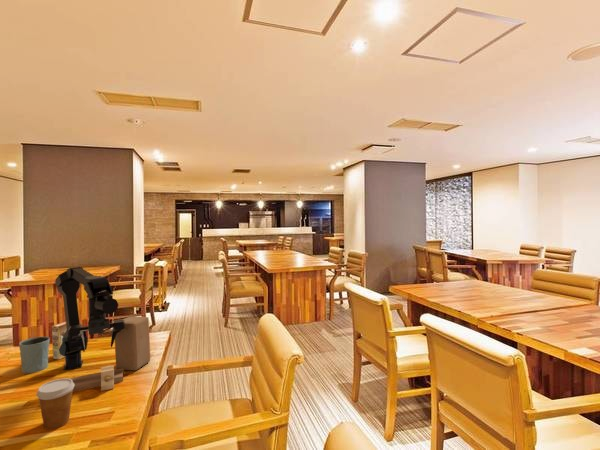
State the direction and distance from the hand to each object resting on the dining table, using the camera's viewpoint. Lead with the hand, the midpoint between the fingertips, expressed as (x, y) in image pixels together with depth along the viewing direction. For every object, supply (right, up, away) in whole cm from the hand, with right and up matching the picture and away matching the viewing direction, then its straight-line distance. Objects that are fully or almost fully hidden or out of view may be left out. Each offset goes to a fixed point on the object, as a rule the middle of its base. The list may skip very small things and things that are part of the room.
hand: (98, 349), depth 130 cm
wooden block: (+8, -12, +12) cm, 19 cm away
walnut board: (-2, -12, -3) cm, 13 cm away
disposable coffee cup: (+4, -13, -27) cm, 30 cm away
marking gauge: (+6, -12, -3) cm, 14 cm away
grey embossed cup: (-33, -12, +10) cm, 36 cm away
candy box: (-29, -12, +23) cm, 39 cm away
